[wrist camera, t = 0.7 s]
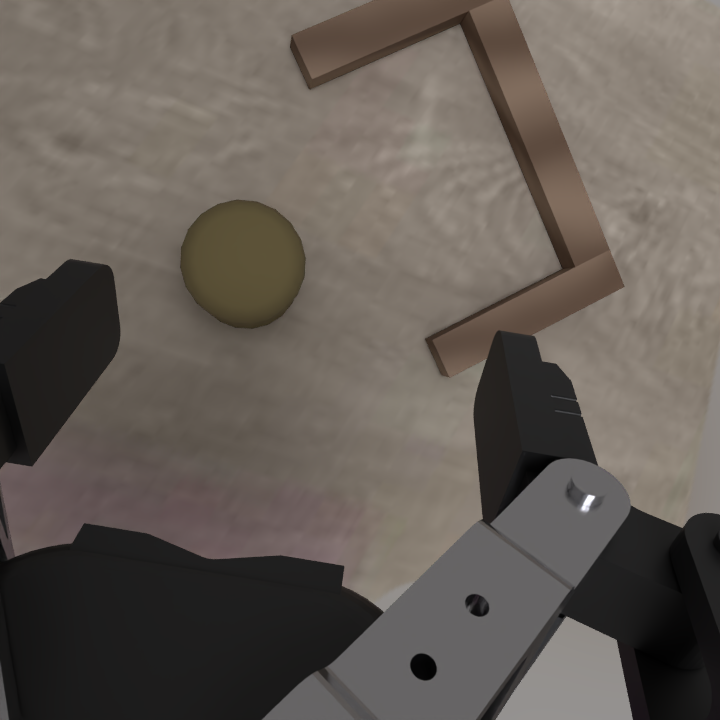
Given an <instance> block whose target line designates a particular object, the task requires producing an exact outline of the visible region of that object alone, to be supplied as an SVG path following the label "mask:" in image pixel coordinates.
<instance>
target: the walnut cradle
mask: <svg viewBox="0 0 720 720" xmlns="http://www.w3.org/2000/svg"><path fill="white" fill-rule="evenodd" d="M458 24H461V26H462V29H463V31H464V33H465V36H466V38H467V41H468V43H469V45H470V48H471V50H472V53H473V55H474V57H475V60H476V62H477V65H478V67H479V69H480V72H481V74H482V76H483V79H484V81H485V84H486V86H487V88H488V91H489V93H490V96H491V98H492V100H493V103H494V105H495V108H496V110H497V112H498V115H499V117H500V120H501V122H502V124H503V127H504V129H505V132H506V134H507V136H508V139H509V141H510V144H511V146H512V148H513V151H514V153H515V156H516V158H517V160H518V163H519V165H520V167H521V170H522V172H523V175H524V177H525V179H526V182H527V184H528V187H529V189H530V191H531V194H532V196H533V199H534V201H535V203H536V206H537V208H538V211H539V213H540V215H541V218H542V220H543V223H544V225H545V227H546V230H547V232H548V235H549V237H550V239H551V242H552V244H553V247H554V249H555V251H556V254H557V256H558V259H559V261H560V263H561V266H562V268H563V269H562V270H560V271H558V272H556V273H554V274H552V275H550V276H548V277H546V278H544V279H542V280H540V281H538V282H536V283H534V284H532V285H530V286H528V287H526V288H524V289H522V290H520V291H519V292H517V293H515V294H513V295H511V296H509V297H507V298H505V299H503V300H501V301H499V302H497V303H495V304H493V305H491V306H489V307H487V308H485V309H483V310H481V311H479V312H477V313H475V314H473V315H471V316H469V317H467V318H465V319H463V320H461V321H460V322H458V323H456V324H454V325H452V326H450V327H448V328H446V329H444V330H442V331H440V332H438V333H436V334H434V335H432V336H430V337H428V338H426V339H425V340H426V342H427V344H428V346H429V348H430V351H431V353H432V355H433V357H434V359H435V361H436V363H437V366H438V368H439V370H440V372H441V374H442V375H443V376H446V377H449V378H450V377H452V376H454V375H456V374H458V373H460V372H462V371H464V370H465V369H467V368H469V367H471V366H473V365H475V364H477V363H479V362H481V361H483V360H485V359H487V357H488V354H489V351H490V347H491V344H492V341H493V338H494V336H495V334H496V332H497V331H498V330H501V331H507V332H513V333H519V334H525V335H533V334H535V333H537V332H538V331H540V330H542V329H544V328H546V327H548V326H550V325H552V324H554V323H556V322H558V321H560V320H561V319H563V318H565V317H567V316H569V315H571V314H573V313H575V312H577V311H579V310H581V309H583V308H585V307H586V306H588V305H590V304H592V303H594V302H596V301H598V300H600V299H602V298H604V297H606V296H608V295H609V294H611V293H613V292H615V291H617V290H619V289H621V288H623V287H624V284H623V282H622V279H621V277H620V274H619V272H618V269H617V267H616V264H615V262H614V259H613V257H612V254H611V252H610V249H609V247H608V244H607V242H606V239H605V237H604V234H603V232H602V230H601V227H600V225H599V222H598V220H597V217H596V215H595V212H594V210H593V207H592V205H591V202H590V200H589V197H588V195H587V192H586V190H585V187H584V185H583V182H582V180H581V177H580V175H579V172H578V170H577V167H576V165H575V163H574V160H573V158H572V155H571V153H570V150H569V148H568V145H567V143H566V140H565V138H564V135H563V133H562V130H561V128H560V125H559V123H558V120H557V118H556V115H555V113H554V110H553V108H552V105H551V103H550V100H549V98H548V96H547V93H546V91H545V88H544V86H543V83H542V81H541V78H540V76H539V73H538V71H537V68H536V66H535V63H534V61H533V58H532V56H531V53H530V51H529V48H528V46H527V43H526V41H525V38H524V36H523V33H522V31H521V29H520V26H519V24H518V21H517V19H516V16H515V14H514V11H513V9H512V6H511V4H510V1H509V0H373V1H371V2H369V3H366V4H364V5H362V6H359V7H357V8H355V9H352V10H350V11H348V12H345V13H343V14H340V15H338V16H336V17H333V18H331V19H329V20H326V21H324V22H322V23H319V24H317V25H315V26H312V27H310V28H307V29H305V30H303V31H300V32H298V33H296V34H293V35H292V37H291V44H290V48H291V50H292V52H293V55H294V57H295V59H296V61H297V63H298V65H299V67H300V70H301V72H302V74H303V76H304V78H305V80H306V83H307V85H308V87H309V89H312V88H314V87H316V86H318V85H321V84H323V83H325V82H327V81H330V80H332V79H334V78H337V77H339V76H341V75H343V74H346V73H348V72H350V71H353V70H355V69H357V68H359V67H362V66H364V65H366V64H369V63H371V62H373V61H375V60H378V59H380V58H382V57H385V56H387V55H389V54H391V53H394V52H396V51H398V50H400V49H403V48H405V47H407V46H410V45H412V44H414V43H416V42H419V41H421V40H423V39H426V38H428V37H430V36H432V35H435V34H437V33H439V32H442V31H444V30H446V29H448V28H451V27H453V26H455V25H458Z"/></svg>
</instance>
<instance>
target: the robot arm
mask: <svg viewBox="0 0 720 720" xmlns="http://www.w3.org/2000/svg"><path fill="white" fill-rule="evenodd" d="M119 341H120V322H119V314H118V306H117V298H116V290H115V282H114V275H113V272H112V269H111V268H110V267H109V266H108V265H104V264H98V263H92V262H86V261H79V260H73V259H70V260H67V261H66V262H65V263H64V264H62V265H61V266H60V267H59V268H58V269H57V270H56V271H55V272H54V273H52V274H51V275H50V276H49V277H48V278H47V279H42V278H40V279H38V280H36V281H34V282H31V283H29V284H27V285H24V286H22V287H20V288H17V289H16V290H15V291H13V292H12V293H11V294H10V295H9V296H8V297H6V298H5V299H4V300H3V301H2V302H1V303H0V469H1V467H2V466H3V465H4V464H5V462H8V463H14V464H20V465H26V466H33V465H34V463H35V462H36V461H37V459H38V458H39V457H40V455H41V454H42V453H43V451H44V450H45V449H46V447H47V446H48V445H49V443H50V442H51V441H52V439H53V438H54V437H55V435H56V434H57V433H58V431H59V430H60V429H61V427H62V426H63V425H64V423H65V422H66V421H67V419H68V418H69V417H70V415H71V414H72V413H73V411H74V410H75V409H76V407H77V406H78V405H79V403H80V402H81V401H82V399H83V398H84V397H85V395H86V394H87V393H88V391H89V390H90V389H91V387H92V386H93V385H94V383H95V382H96V381H97V379H98V378H99V377H100V375H101V374H102V373H103V371H104V370H105V369H106V367H107V366H108V365H109V363H110V362H111V361H112V359H113V358H114V356H115V354H116V352H117V349H118V346H119ZM576 400H577V398H576V395H575V392H574V388H573V385H572V382H571V380H570V379H569V378H568V377H567V376H566V375H565V373H564V372H563V371H562V370H561V369H560V368H559V367H558V365H557V364H554V363H548V362H542V360H541V356H540V352H539V348H538V345H537V341H536V338H535V336H531V335H525V334H519V333H513V332H507V331H501V330H498V331H497V332H496V334H495V336H494V338H493V341H492V344H491V347H490V351H489V354H488V357H487V360H486V363H485V366H484V369H483V373H482V376H481V379H480V382H479V385H478V388H477V392H476V397H475V403H474V427H475V438H476V449H477V460H478V471H479V482H480V493H481V504H482V515H483V519H482V520H480V521H478V522H476V523H475V524H474V525H473V526H472V527H471V528H470V529H469V530H468V531H467V532H466V533H465V534H464V535H463V536H461V537H460V538H459V539H458V540H457V541H456V542H455V543H454V544H453V545H452V546H451V547H450V548H449V549H448V550H447V551H446V552H445V553H444V554H443V555H442V556H441V557H440V558H439V559H438V560H437V561H436V562H435V563H434V564H433V565H432V566H431V567H430V568H429V569H428V570H427V571H426V572H425V573H424V574H423V575H422V576H421V577H420V578H419V579H418V580H417V581H416V582H415V583H414V584H413V585H412V586H411V587H410V588H409V589H407V590H406V592H405V593H403V594H402V595H401V596H400V597H399V598H398V599H397V600H396V601H395V602H394V603H393V604H392V605H391V606H390V607H389V608H388V609H387V610H386V611H385V612H383V611H382V610H381V609H380V608H378V607H377V606H376V605H374V604H373V603H372V602H370V601H369V600H368V599H366V598H364V597H363V596H361V595H359V594H357V593H356V592H354V591H352V590H350V589H347V588H345V587H343V586H342V579H343V572H344V566H342V565H335V564H329V563H323V562H317V561H311V560H305V559H299V558H293V557H287V556H281V555H280V556H264V557H248V558H231V559H207V558H204V557H201V556H199V555H196V554H194V553H192V552H189V551H187V550H185V549H182V548H180V547H178V546H175V545H173V544H171V543H168V542H166V541H164V540H161V539H159V538H157V537H154V536H152V535H150V534H146V533H140V532H134V531H128V530H122V529H116V528H110V527H104V526H98V525H91V524H85V523H84V525H83V526H82V528H81V530H80V531H79V533H78V535H77V536H76V538H75V540H74V542H73V543H72V544H63V545H57V546H50V547H46V548H42V549H38V550H34V551H30V552H28V553H25V554H22V555H19V556H16V557H15V555H14V550H13V545H12V540H11V535H10V530H9V524H8V519H7V514H6V509H5V504H4V498H3V493H2V488H1V483H0V720H496V718H497V717H498V715H499V714H500V712H501V710H502V709H503V707H504V706H505V704H506V703H507V701H508V700H509V698H510V696H511V695H512V693H513V692H514V690H515V689H516V688H517V686H518V685H519V683H520V682H521V680H522V679H523V678H524V676H525V674H526V673H527V672H528V670H529V669H530V667H531V666H532V665H533V663H534V662H535V661H536V659H537V658H538V656H539V655H540V653H541V652H542V651H543V649H544V648H545V646H546V645H547V643H548V642H549V641H550V639H551V638H552V636H553V635H554V633H555V632H556V631H557V629H558V628H559V626H560V625H561V624H562V622H563V621H564V619H565V618H566V616H567V617H570V618H572V619H574V620H576V621H578V622H580V623H582V624H584V625H587V626H589V627H591V628H593V629H595V630H597V631H599V632H601V633H603V634H606V635H608V636H610V637H612V638H614V639H616V640H617V643H618V648H619V653H620V658H621V663H622V668H623V673H624V677H625V682H626V687H627V692H628V697H629V702H630V707H631V711H632V717H633V720H720V515H719V514H713V513H702V514H697V515H695V516H693V517H691V518H690V519H689V520H688V521H687V523H686V524H685V526H684V527H683V528H681V527H678V526H676V525H674V524H671V523H669V522H666V521H664V520H661V519H659V518H656V517H654V516H652V515H649V514H647V513H645V512H642V511H640V510H638V509H636V508H635V507H633V506H631V504H630V499H629V495H628V493H627V491H626V490H625V488H624V487H623V485H622V484H621V483H620V482H619V481H618V480H617V479H616V478H615V477H614V476H613V475H612V474H610V473H609V472H607V471H606V470H605V469H603V468H601V467H599V466H598V464H597V461H596V458H595V455H594V451H593V448H592V445H591V442H590V439H589V436H588V432H587V429H586V426H585V423H584V420H583V417H581V410H580V407H579V404H578V402H576Z"/></svg>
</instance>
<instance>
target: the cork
mask: <svg viewBox="0 0 720 720" xmlns="http://www.w3.org/2000/svg"><path fill="white" fill-rule="evenodd" d="M180 268H181V271H182V275H183V278H184V282H185V285H186V288H187V289H188V291H189V292H190V294H191V295H192V297H193V298H194V300H195V301H196V303H197V304H199V305H200V306H201V307H202V308H204V309H205V310H206V311H207V312H209V313H210V314H211V315H212V316H214V317H215V318H217V319H218V320H219V321H220V322H223V323H226V324H228V325H231V326H233V327H237V328H256V327H260V326H264V325H268V324H270V323H271V322H273V321H274V320H276V319H278V318H279V317H281V316H282V315H283V314H284V313H285V311H286V310H287V309H288V308H289V307H290V305H291V304H292V303H293V300H294V298H295V297H296V296H297V295H298V292H299V289H300V287H301V284H302V282H303V279H304V275H305V254H304V250H303V246H302V242H301V239H300V237H299V236H298V234H297V232H296V231H295V229H294V228H293V226H292V224H291V223H290V222H289V221H288V220H287V219H286V218H285V217H283V216H282V215H281V214H280V213H279V212H278V211H276V210H275V209H273V208H271V207H268V206H266V205H264V204H261V203H259V202H255V201H245V200H234V201H229V202H225V203H220V204H217V205H216V206H214V207H212V208H211V209H209V210H207V211H206V212H204V213H202V214H201V215H200V216H199V217H198V218H197V220H196V221H195V222H194V223H193V224H192V226H191V227H190V228H189V229H188V232H187V234H186V237H185V239H184V242H183V244H182V247H181V265H180Z"/></svg>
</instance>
